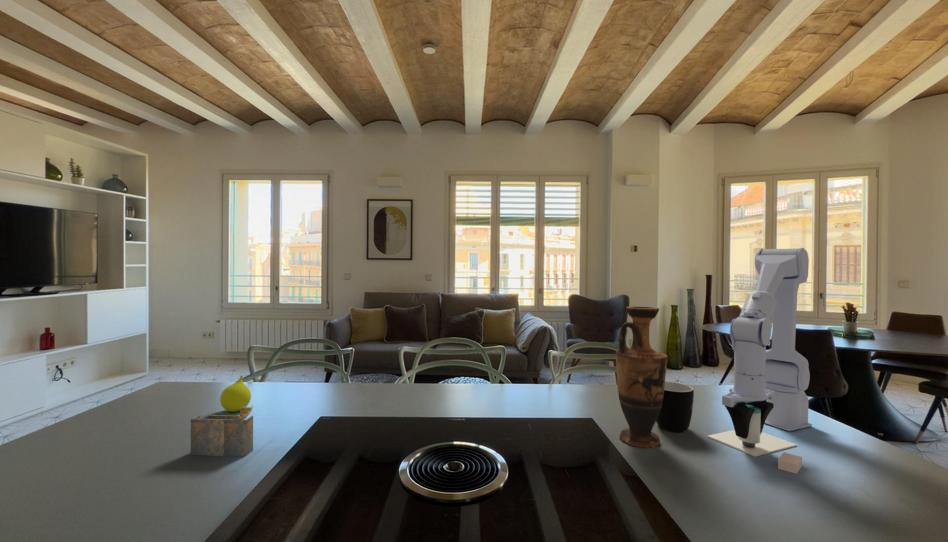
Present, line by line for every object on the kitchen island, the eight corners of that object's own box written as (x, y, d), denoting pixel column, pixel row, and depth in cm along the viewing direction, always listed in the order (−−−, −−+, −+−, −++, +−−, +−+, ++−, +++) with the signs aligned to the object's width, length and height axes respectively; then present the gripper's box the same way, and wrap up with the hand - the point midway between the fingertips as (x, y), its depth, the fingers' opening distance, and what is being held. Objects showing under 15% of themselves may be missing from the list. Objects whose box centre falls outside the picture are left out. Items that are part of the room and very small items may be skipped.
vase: (666, 436, 98) (668, 306, 98) (665, 454, 88) (668, 310, 88) (617, 428, 103) (618, 304, 103) (611, 444, 93) (613, 307, 93)
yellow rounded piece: (252, 405, 116) (253, 369, 116) (249, 414, 110) (249, 375, 110) (222, 408, 114) (223, 371, 114) (217, 417, 107) (217, 377, 107)
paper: (747, 428, 104) (747, 427, 104) (796, 445, 94) (796, 444, 94) (707, 436, 98) (707, 435, 98) (755, 456, 88) (755, 455, 88)
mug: (698, 436, 98) (699, 392, 98) (658, 433, 100) (658, 390, 100) (681, 418, 110) (682, 379, 110) (645, 416, 112) (646, 377, 112)
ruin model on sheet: (254, 451, 89) (254, 405, 89) (245, 458, 86) (246, 410, 86) (200, 450, 89) (200, 404, 89) (190, 457, 86) (190, 409, 86)
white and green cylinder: (752, 441, 94) (753, 404, 94) (764, 449, 90) (765, 411, 90) (733, 441, 94) (734, 404, 94) (745, 448, 90) (746, 410, 90)
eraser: (783, 461, 86) (783, 452, 86) (801, 466, 84) (802, 456, 84) (777, 469, 83) (778, 459, 83) (797, 475, 81) (797, 464, 81)
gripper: (752, 366, 99) (751, 424, 99) (709, 371, 93) (708, 433, 93) (785, 373, 92) (784, 435, 92) (740, 379, 86) (739, 446, 87)
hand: (748, 435), depth 92 cm, fingers closed on white and green cylinder, 4 cm apart
